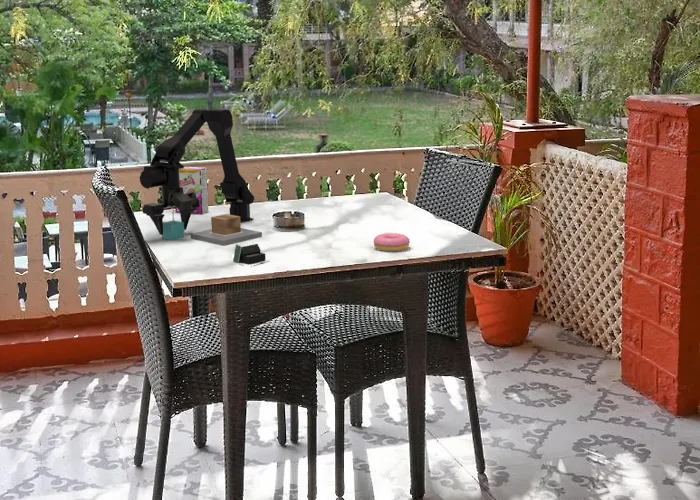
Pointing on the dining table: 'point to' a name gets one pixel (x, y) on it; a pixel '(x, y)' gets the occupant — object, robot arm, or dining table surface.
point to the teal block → (173, 230)
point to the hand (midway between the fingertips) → (173, 232)
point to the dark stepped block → (248, 254)
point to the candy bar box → (195, 186)
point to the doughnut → (391, 242)
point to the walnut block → (225, 224)
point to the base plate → (226, 236)
